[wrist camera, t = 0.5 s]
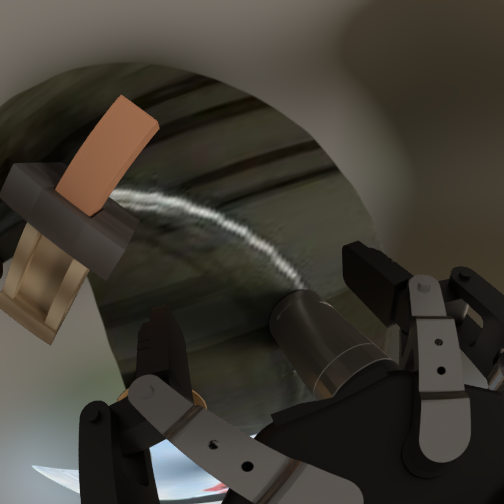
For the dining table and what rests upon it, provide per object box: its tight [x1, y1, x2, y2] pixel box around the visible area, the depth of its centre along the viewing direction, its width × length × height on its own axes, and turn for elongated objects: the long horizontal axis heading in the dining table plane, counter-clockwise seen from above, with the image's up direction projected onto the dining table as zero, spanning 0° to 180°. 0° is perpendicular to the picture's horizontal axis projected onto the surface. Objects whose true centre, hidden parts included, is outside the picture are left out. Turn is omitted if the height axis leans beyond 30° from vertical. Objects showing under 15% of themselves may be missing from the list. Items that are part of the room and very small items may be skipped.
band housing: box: [0, 162, 140, 345], centre depth 22 cm, size 16×12×12 cm
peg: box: [55, 95, 159, 218], centre depth 20 cm, size 13×4×4 cm, turn 139°
